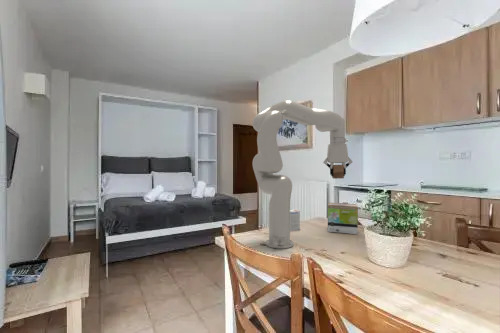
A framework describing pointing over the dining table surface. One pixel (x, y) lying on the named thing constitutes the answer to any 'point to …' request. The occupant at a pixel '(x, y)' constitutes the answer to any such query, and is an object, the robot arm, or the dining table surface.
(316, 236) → the dining table surface
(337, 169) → the walnut block
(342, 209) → the tea box
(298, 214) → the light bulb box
